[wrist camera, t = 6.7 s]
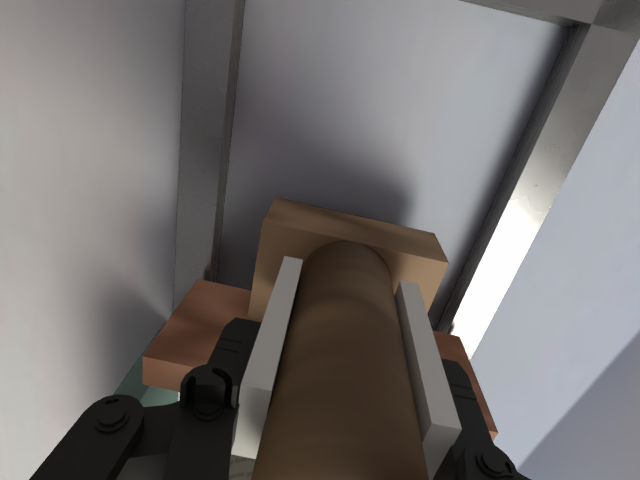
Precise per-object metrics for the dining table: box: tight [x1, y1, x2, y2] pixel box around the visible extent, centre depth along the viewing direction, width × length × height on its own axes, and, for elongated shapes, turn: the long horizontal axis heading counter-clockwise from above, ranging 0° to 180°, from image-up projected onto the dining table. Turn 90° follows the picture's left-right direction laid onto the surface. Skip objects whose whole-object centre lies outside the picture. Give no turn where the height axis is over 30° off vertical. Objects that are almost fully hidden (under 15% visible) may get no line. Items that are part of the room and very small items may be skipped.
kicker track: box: [173, 0, 640, 361], centre depth 19 cm, size 18×23×2 cm
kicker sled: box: [143, 197, 498, 480], centre depth 14 cm, size 15×7×12 cm, turn 78°
